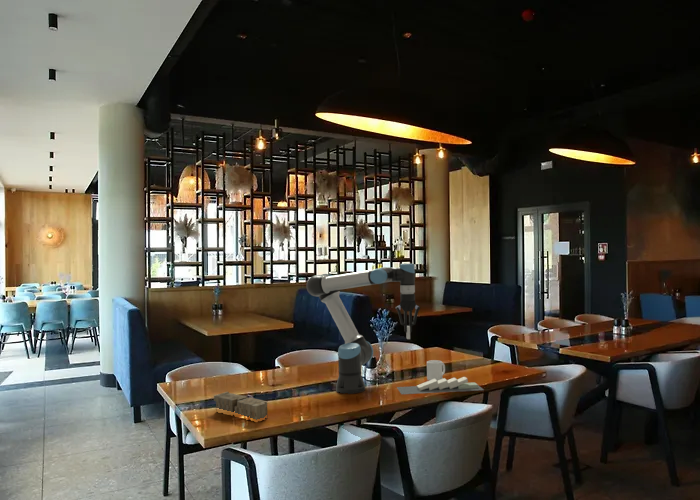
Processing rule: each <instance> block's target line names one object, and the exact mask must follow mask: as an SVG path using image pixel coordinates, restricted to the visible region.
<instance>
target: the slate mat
mask: <svg viewBox="0 0 700 500" xmlns="http://www.w3.org/2000/svg"><path fill="white" fill-rule="evenodd" d="M396 388H397V390H398V392H399V393H400V395H417V394H434V393H455V392H473V391H474V392H475V391H484V390H485V389H484V388H482V387H481V386H480V385H478V388H467V389H458V388H457V387H454V388H452V389H450V388H449V387H446V388H443V389H441V390H440V389H439V388H438V387H437V388H435V389H432V390H429V389H428V388H426V389H424V390H421V391H420V390H419V389H418V387H417V385H416V386H415V385H412V386H396Z"/></svg>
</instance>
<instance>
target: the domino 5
mask: <svg viewBox="0 0 700 500" xmlns="http://www.w3.org/2000/svg"><path fill="white" fill-rule="evenodd" d="M478 386H479V384H478V383H476V382H467V383H464V384H462V385H459V386H457V388H458V389H467V388H478Z"/></svg>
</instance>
